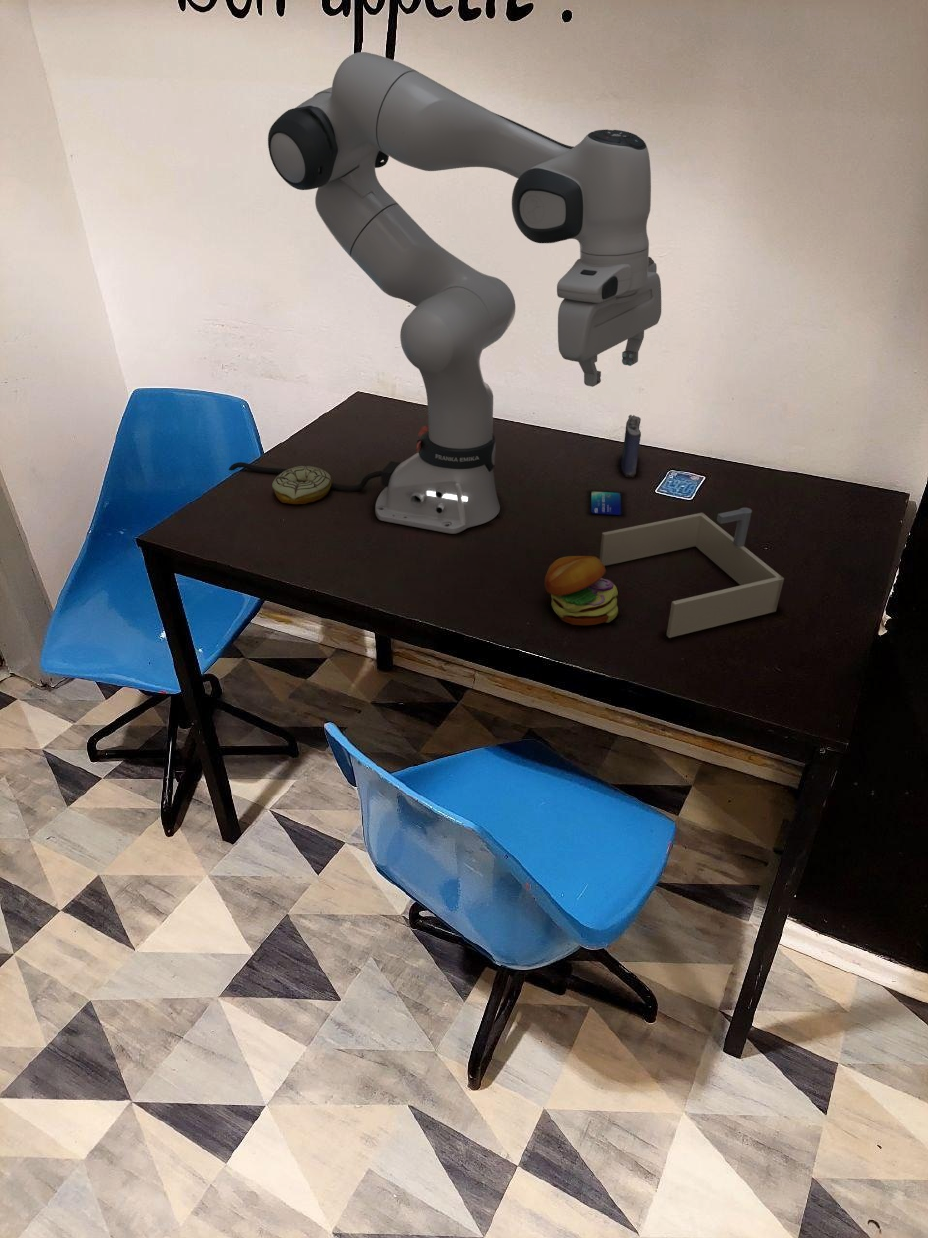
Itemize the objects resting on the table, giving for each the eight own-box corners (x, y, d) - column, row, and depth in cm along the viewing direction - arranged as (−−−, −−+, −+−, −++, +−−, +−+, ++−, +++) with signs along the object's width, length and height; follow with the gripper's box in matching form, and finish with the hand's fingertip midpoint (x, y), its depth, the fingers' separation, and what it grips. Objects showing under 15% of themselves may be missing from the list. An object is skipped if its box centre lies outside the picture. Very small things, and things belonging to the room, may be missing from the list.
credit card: (621, 515, 158) (621, 514, 158) (591, 513, 159) (591, 513, 159) (620, 493, 165) (620, 492, 165) (591, 491, 166) (591, 491, 166)
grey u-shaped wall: (668, 638, 129) (680, 568, 122) (598, 564, 145) (605, 499, 138) (778, 610, 134) (796, 542, 127) (699, 542, 151) (710, 479, 144)
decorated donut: (262, 493, 165) (260, 475, 163) (309, 475, 171) (307, 457, 169) (295, 513, 159) (293, 494, 157) (342, 493, 165) (341, 475, 163)
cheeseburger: (603, 639, 128) (593, 579, 124) (538, 631, 134) (527, 573, 129) (630, 605, 135) (622, 546, 130) (568, 598, 141) (558, 542, 136)
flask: (636, 478, 171) (642, 425, 164) (620, 477, 171) (626, 424, 165) (635, 457, 178) (641, 406, 172) (620, 456, 178) (626, 405, 172)
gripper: (635, 251, 124) (632, 349, 132) (548, 287, 112) (550, 392, 120) (675, 255, 120) (669, 355, 128) (590, 292, 108) (589, 401, 116)
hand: (611, 373), depth 124 cm, fingers open, 8 cm apart
